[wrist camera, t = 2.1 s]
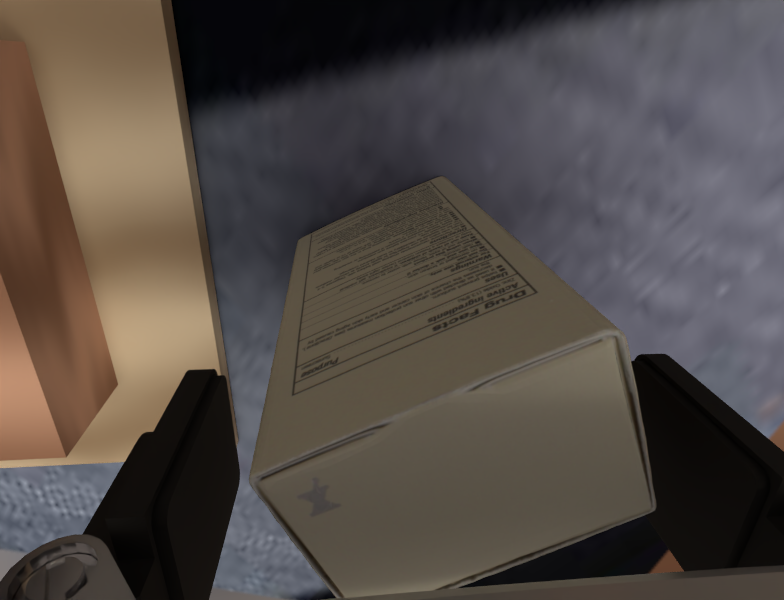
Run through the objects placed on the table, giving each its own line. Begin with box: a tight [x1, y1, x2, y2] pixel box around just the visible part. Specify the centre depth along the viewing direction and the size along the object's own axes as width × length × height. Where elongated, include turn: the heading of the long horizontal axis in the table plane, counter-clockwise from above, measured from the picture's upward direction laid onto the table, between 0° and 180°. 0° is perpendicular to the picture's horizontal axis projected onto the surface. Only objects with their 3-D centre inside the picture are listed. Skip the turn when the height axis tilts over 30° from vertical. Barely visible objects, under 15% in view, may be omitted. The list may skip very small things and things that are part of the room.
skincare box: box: [249, 176, 656, 598], centre depth 13 cm, size 6×4×12 cm
